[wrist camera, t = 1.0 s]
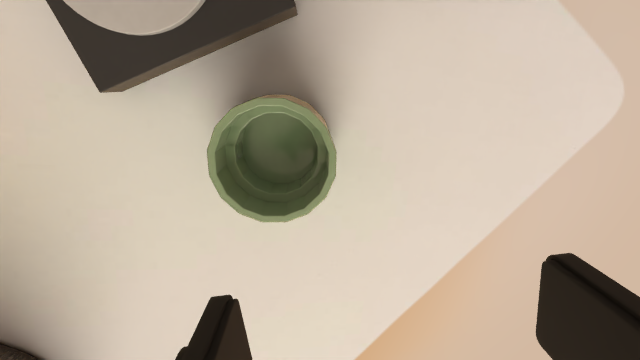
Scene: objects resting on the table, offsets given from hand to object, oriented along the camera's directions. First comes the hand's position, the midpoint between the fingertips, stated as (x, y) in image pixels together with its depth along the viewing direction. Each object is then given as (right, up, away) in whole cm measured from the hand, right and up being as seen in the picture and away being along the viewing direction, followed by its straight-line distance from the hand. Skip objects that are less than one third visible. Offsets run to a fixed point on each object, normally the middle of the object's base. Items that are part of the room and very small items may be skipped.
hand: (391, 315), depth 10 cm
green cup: (-5, +7, +13) cm, 16 cm away
